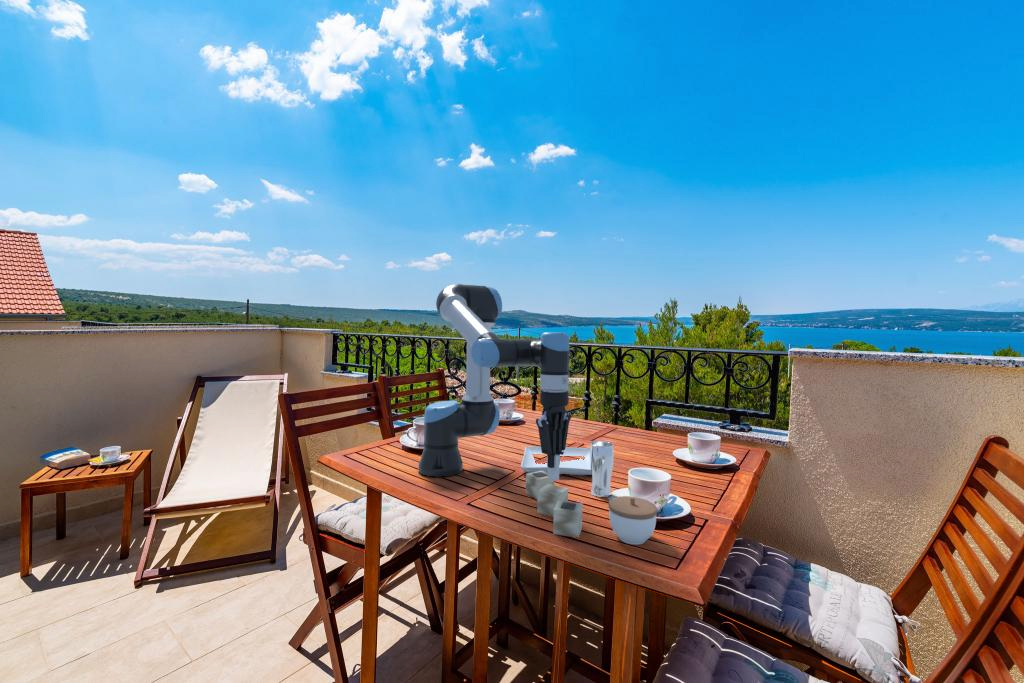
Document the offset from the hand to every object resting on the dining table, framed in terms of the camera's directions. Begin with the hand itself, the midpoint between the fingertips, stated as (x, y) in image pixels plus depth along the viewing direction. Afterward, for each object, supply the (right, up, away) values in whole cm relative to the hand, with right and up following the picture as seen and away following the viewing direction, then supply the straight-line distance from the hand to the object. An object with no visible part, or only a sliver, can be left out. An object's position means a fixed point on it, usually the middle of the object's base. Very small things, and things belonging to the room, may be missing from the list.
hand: (553, 478), depth 108 cm
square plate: (+6, -9, +40) cm, 42 cm away
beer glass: (+16, -9, +13) cm, 22 cm away
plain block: (0, -9, 0) cm, 9 cm away
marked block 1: (-3, -9, +12) cm, 15 cm away
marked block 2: (+2, -9, -10) cm, 14 cm away
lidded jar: (+17, -9, -14) cm, 24 cm away
